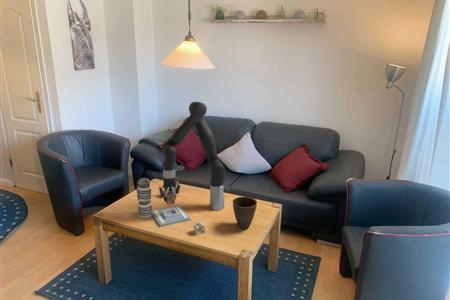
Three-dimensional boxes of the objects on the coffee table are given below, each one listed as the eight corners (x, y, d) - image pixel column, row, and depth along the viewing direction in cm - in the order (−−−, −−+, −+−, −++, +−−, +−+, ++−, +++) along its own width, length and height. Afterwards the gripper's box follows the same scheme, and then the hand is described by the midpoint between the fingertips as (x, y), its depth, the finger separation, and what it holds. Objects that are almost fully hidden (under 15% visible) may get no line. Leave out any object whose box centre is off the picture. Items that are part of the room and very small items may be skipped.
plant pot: (254, 232, 199) (256, 208, 194) (230, 230, 201) (230, 206, 196) (256, 220, 213) (258, 197, 208) (233, 218, 215) (234, 195, 210)
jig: (179, 207, 229) (179, 202, 228) (190, 219, 212) (190, 215, 211) (151, 213, 220) (150, 208, 219) (160, 226, 203) (160, 222, 202)
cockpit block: (201, 229, 201) (201, 220, 200) (204, 233, 197) (205, 224, 196) (193, 231, 199) (193, 222, 198) (197, 235, 195) (197, 226, 193)
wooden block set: (174, 189, 258) (173, 177, 255) (183, 190, 254) (182, 178, 251) (159, 198, 243) (158, 185, 240) (169, 200, 239) (168, 186, 236)
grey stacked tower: (135, 215, 217) (132, 180, 210) (145, 210, 224) (144, 175, 217) (144, 219, 212) (142, 183, 205) (155, 214, 219) (153, 179, 212)
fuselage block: (172, 200, 216) (172, 191, 215) (174, 203, 212) (174, 194, 211) (164, 201, 214) (164, 193, 212) (167, 204, 210) (167, 196, 208)
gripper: (178, 172, 214) (178, 196, 219) (156, 175, 208) (157, 200, 213) (182, 176, 208) (182, 200, 213) (159, 179, 202) (160, 205, 206)
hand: (169, 200), depth 213 cm, fingers closed on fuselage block, 5 cm apart
